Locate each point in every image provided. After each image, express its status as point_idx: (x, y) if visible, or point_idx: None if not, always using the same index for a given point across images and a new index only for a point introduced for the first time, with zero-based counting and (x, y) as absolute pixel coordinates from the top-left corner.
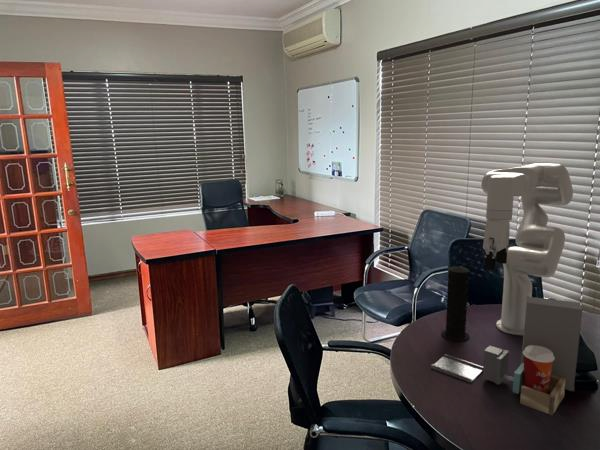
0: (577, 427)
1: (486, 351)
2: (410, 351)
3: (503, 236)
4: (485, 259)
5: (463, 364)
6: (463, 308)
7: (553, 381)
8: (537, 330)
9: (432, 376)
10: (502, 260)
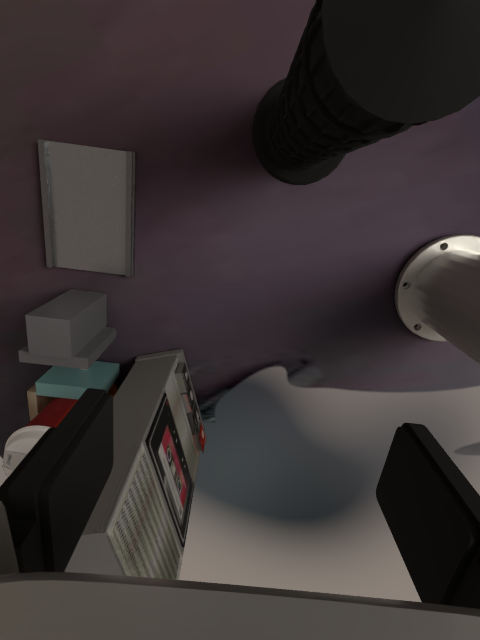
0: None
1: (26, 320)
2: (92, 24)
3: None
4: (29, 466)
5: (117, 222)
6: (306, 148)
7: None
8: None
9: (4, 163)
10: (393, 494)
